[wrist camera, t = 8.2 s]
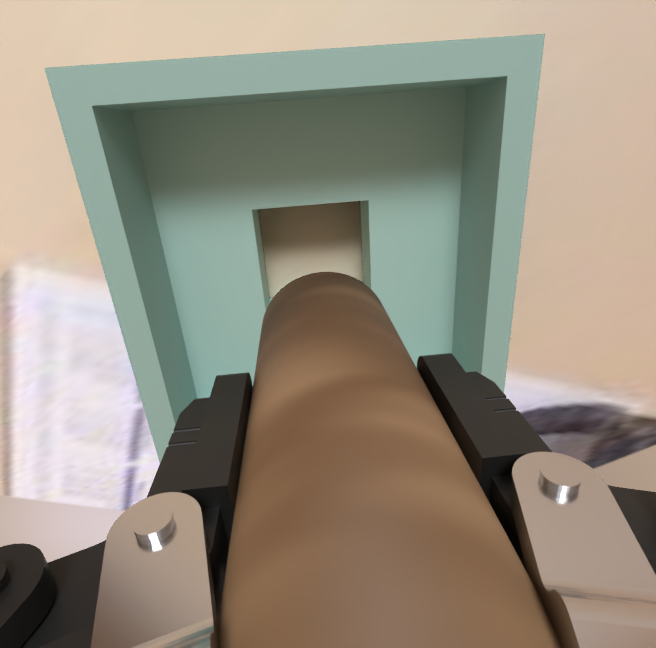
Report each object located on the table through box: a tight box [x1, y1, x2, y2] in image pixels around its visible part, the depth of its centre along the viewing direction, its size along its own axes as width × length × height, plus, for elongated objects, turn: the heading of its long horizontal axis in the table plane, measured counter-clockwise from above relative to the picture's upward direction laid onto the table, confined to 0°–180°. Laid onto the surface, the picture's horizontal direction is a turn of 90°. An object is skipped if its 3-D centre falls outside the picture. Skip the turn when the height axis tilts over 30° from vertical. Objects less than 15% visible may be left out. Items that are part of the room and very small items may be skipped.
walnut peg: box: [218, 272, 561, 648], centre depth 8 cm, size 4×4×12 cm
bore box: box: [45, 34, 545, 463], centre depth 21 cm, size 17×17×7 cm
